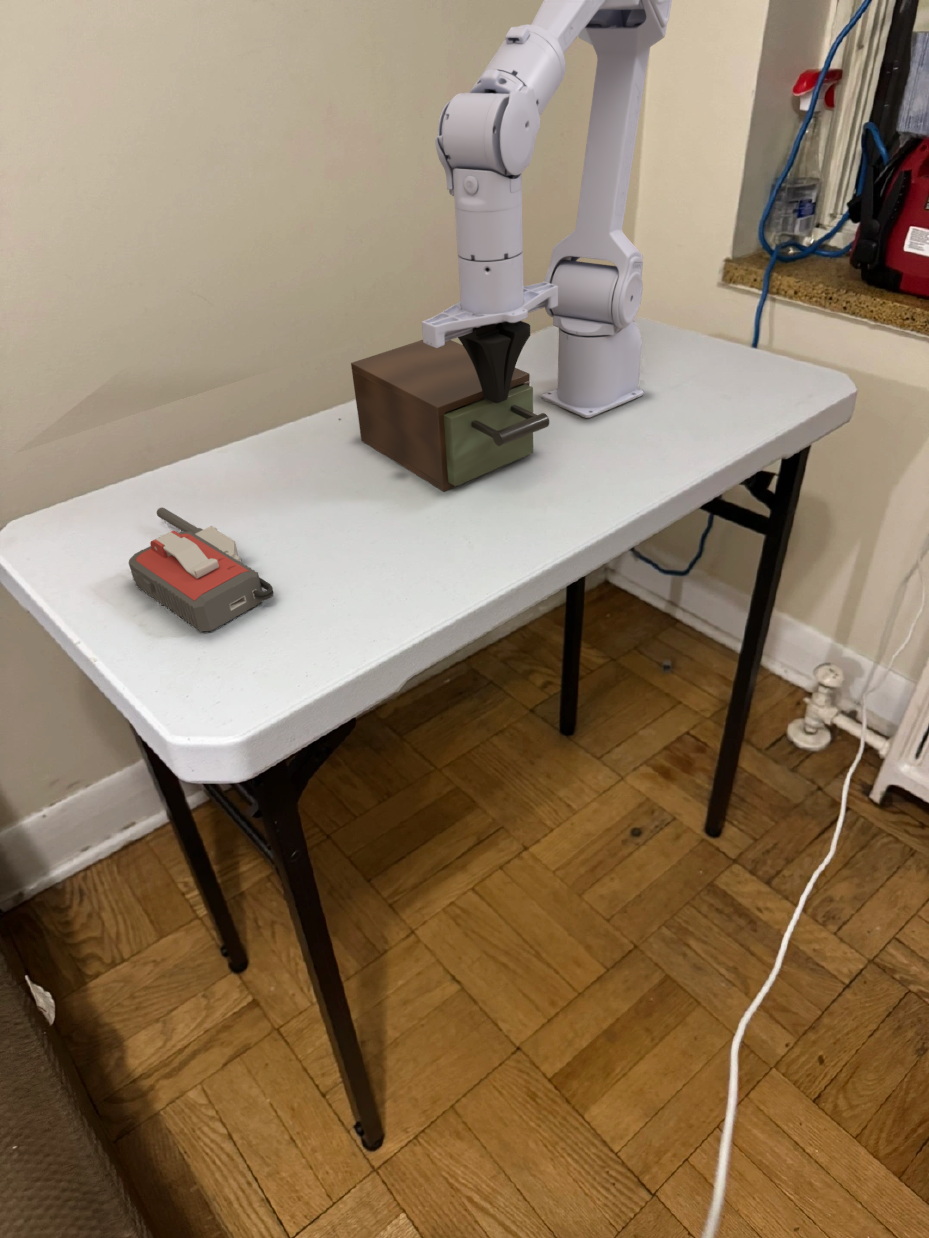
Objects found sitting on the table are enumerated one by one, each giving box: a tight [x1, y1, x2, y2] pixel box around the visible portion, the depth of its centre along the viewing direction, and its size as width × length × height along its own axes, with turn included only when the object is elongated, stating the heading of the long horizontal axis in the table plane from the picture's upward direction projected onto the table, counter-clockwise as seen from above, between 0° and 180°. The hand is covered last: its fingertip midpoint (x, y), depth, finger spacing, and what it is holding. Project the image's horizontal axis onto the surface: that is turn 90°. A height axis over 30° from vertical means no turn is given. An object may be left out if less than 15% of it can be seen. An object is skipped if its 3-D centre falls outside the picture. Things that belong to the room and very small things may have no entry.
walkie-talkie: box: [128, 507, 275, 632], centre depth 77 cm, size 9×4×20 cm
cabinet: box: [350, 339, 531, 492], centre depth 92 cm, size 16×12×9 cm
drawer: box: [444, 384, 550, 487], centre depth 90 cm, size 19×10×7 cm, turn 38°
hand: (495, 398), depth 84 cm, fingers closed
